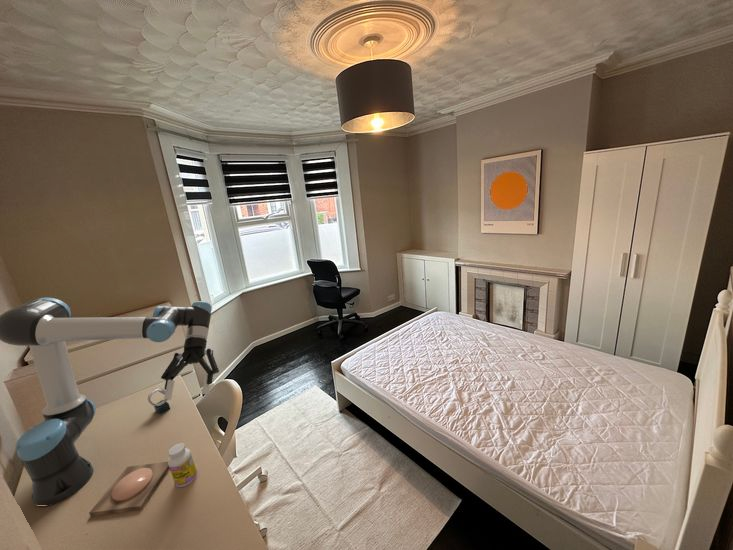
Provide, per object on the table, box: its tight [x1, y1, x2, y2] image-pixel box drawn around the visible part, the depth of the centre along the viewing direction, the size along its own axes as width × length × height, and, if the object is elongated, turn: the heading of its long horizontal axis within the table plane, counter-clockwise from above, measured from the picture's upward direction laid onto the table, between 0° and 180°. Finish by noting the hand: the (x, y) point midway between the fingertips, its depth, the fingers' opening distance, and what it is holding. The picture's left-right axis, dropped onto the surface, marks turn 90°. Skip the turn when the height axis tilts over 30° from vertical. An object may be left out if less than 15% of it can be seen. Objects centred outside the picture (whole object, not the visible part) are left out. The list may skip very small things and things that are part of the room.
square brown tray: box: [88, 461, 170, 517], centre depth 99 cm, size 16×16×2 cm
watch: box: [147, 387, 171, 415], centre depth 137 cm, size 6×8×11 cm
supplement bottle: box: [167, 442, 198, 488], centre depth 98 cm, size 7×7×13 cm
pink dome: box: [112, 468, 153, 501], centre depth 98 cm, size 11×11×1 cm
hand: (186, 396), depth 105 cm, fingers open, 13 cm apart
